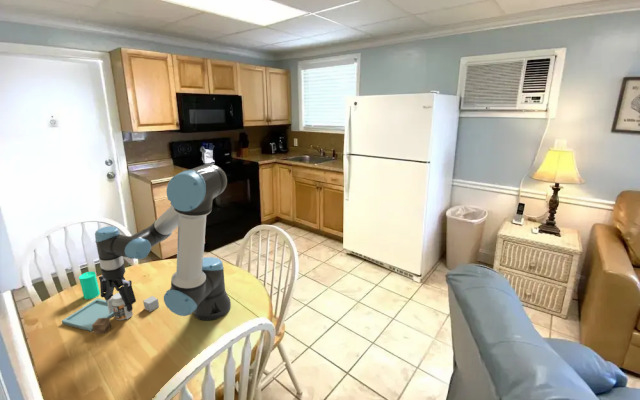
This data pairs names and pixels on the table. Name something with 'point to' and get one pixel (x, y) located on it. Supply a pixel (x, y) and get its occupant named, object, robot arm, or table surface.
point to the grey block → (151, 303)
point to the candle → (89, 285)
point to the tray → (89, 315)
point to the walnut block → (101, 325)
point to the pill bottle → (118, 307)
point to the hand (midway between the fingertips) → (121, 314)
